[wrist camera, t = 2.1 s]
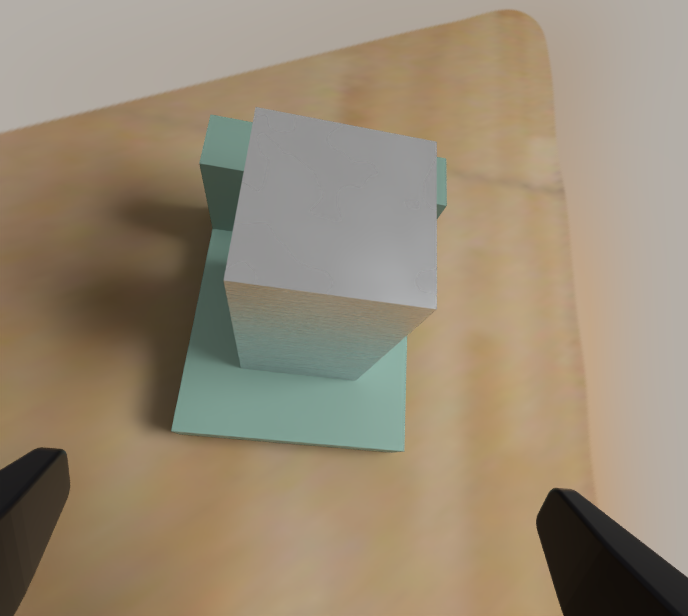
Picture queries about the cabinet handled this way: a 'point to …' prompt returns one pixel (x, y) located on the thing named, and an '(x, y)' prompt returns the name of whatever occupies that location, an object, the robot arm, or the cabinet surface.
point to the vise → (263, 386)
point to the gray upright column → (330, 245)
